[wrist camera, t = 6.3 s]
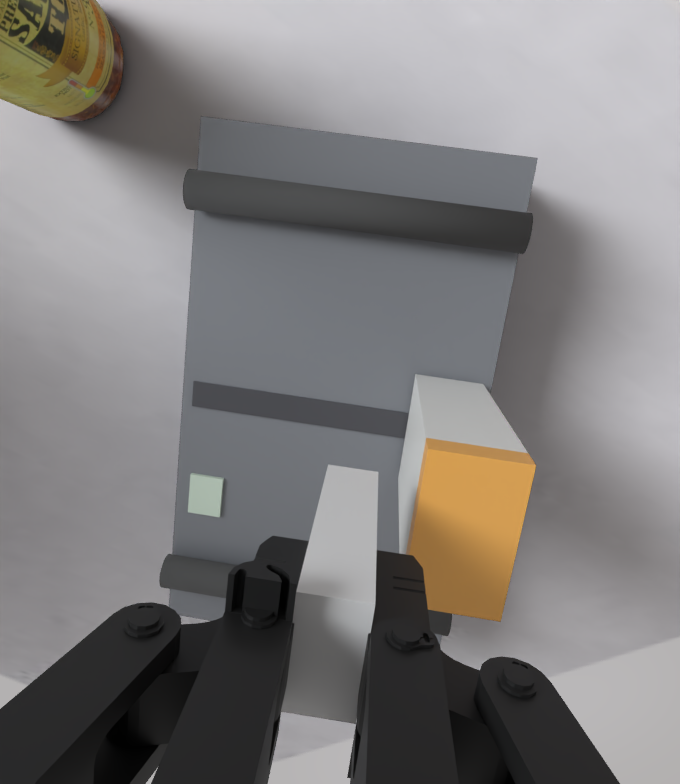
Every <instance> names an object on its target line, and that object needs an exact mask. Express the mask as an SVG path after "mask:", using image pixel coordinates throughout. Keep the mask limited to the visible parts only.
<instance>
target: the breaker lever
mask: <svg viewBox="0 0 680 784" xmlns="http://www.w3.org/2000/svg"><path fill="white" fill-rule="evenodd" d="M535 469H536V464H535V463H534V461H533V460H532V458H531V457H530V455H529V454H528V452H527V450H526V449H525V447H524V446H523V444H522V443H521V441H520V440H519V438H518V437H517V435H516V434H515V432H514V431H513V429H512V427H511V426H510V424H509V423H508V421H507V420H506V418H505V417H504V415H503V414H502V412H501V411H500V409H499V407H498V406H497V404H496V403H495V401H494V400H493V398H492V397H491V395H490V394H489V392H488V391H487V389H486V388H485V386H484V384H480V383H473V382H466V381H459V380H452V379H445V378H439V377H432V376H425V375H418V374H415V380H414V386H413V392H412V398H411V404H410V410H409V416H408V422H407V428H406V434H405V440H404V446H403V452H402V458H401V464H400V470H399V476H398V496H399V553H400V554H406V555H413V556H414V557H415V559H416V560H417V561H418V562H419V564H420V565H421V566H422V568H423V573H424V583H425V589H426V598H427V606H428V610H434V611H440V612H445V613H451V614H457V615H463V616H469V617H475V618H481V619H487V620H493V621H499V622H501V618H502V613H503V609H504V605H505V600H506V596H507V592H508V587H509V583H510V578H511V574H512V570H513V565H514V561H515V556H516V552H517V548H518V543H519V539H520V535H521V530H522V526H523V521H524V517H525V513H526V508H527V504H528V500H529V495H530V491H531V486H532V482H533V478H534V473H535Z"/></svg>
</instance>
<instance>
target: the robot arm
mask: <svg viewBox="0 0 680 784" xmlns="http://www.w3.org/2000/svg"><path fill="white" fill-rule="evenodd" d="M377 512H378V472H375V471H368V470H362V469H355V468H348V467H342V466H335V465H328V467H327V471H326V475H325V479H324V483H323V487H322V491H321V495H320V499H319V503H318V507H317V511H316V515H315V519H314V523H313V527H312V531H311V535H310V539H309V541H305V540H299V539H292V538H286V537H279V536H271V537H270V538H268V539H267V540H266V541H264V542H263V543H262V544H260V546H259V549H258V551H257V554H256V556H255V559H254V561H249V562H243V563H241V564H239V565H237V566H235V567H234V568H233V569H232V570H231V571H230V572H229V573H228V582H227V593H226V604H225V612H224V614H223V617H221V618H219V619H216V620H213V621H210V622H205V623H198V624H183V625H181V618H180V616H179V615H178V614H177V612H176V611H175V610H174V609H172V608H170V607H168V606H166V605H163V604H157V603H138V604H134V605H131V606H127V607H124V608H123V609H121V610H119V611H118V612H116V613H114V614H113V615H112V616H110V617H109V618H108V619H107V620H106V621H105V622H103V623H102V624H101V625H100V626H99V627H97V628H96V629H95V630H94V631H93V632H91V633H90V634H89V635H88V636H87V637H85V638H84V639H83V640H82V641H81V642H80V643H78V644H77V645H76V646H75V647H74V648H72V649H71V650H70V651H69V652H68V653H66V654H65V655H64V656H63V657H62V658H60V659H59V660H58V661H57V662H56V663H55V664H53V665H52V666H51V667H50V668H49V669H47V670H46V671H45V672H44V673H43V674H41V675H40V676H39V677H38V678H37V679H35V680H34V681H33V682H32V683H31V684H30V685H28V686H27V687H26V688H25V689H24V690H22V691H21V692H20V693H19V694H18V695H17V696H15V697H14V698H13V699H12V700H10V701H9V702H8V703H7V704H6V705H5V706H3V707H2V708H1V709H0V784H146V782H147V781H148V779H149V778H150V777H151V775H152V774H153V773H154V771H155V770H156V768H157V767H158V766H159V767H158V769H157V771H156V774H155V776H154V778H153V781H152V783H151V784H267V783H268V778H269V774H270V769H271V765H272V760H273V755H274V750H275V746H276V741H277V736H278V730H279V722H280V715H281V712H287V713H294V714H300V715H306V716H312V717H318V718H324V719H330V720H336V721H342V722H348V723H354V724H356V729H355V735H354V741H353V747H352V753H351V759H350V765H349V772H348V777H347V778H351V781H350V784H620V783H619V782H618V781H617V779H616V777H615V776H614V774H613V773H612V772H611V770H610V768H609V767H608V766H607V764H606V763H605V761H604V760H603V758H602V757H601V755H600V754H599V752H598V751H597V749H596V748H595V746H594V745H593V744H592V742H591V741H590V739H589V738H588V736H587V735H586V733H585V732H584V730H583V729H582V727H581V726H580V724H579V723H578V721H577V720H576V718H575V717H574V716H573V714H572V713H571V711H570V710H569V708H568V707H567V705H566V704H565V702H564V701H563V699H562V698H561V696H560V695H559V694H558V692H557V691H556V689H555V688H554V686H553V685H552V683H551V682H550V681H549V680H548V679H547V677H546V676H545V675H544V674H543V673H542V672H541V671H539V670H538V669H536V668H535V667H533V666H532V665H530V664H528V663H526V662H523V661H520V660H518V659H515V658H508V657H496V658H490V659H489V660H487V661H486V662H484V663H483V664H482V666H481V669H480V671H479V670H477V669H474V668H471V667H469V666H466V665H464V664H462V663H460V662H458V661H455V660H453V659H452V658H450V657H449V656H447V655H446V654H445V653H443V652H442V651H441V650H440V644H439V642H438V639H437V637H436V635H435V634H434V633H433V632H432V631H431V630H430V622H429V614H428V606H427V598H426V589H425V583H424V573H423V568H422V566H421V565H420V564H419V562H418V561H417V560H416V559H415V557H414V556H413V555H406V554H400V553H393V552H387V551H380V550H377ZM356 718H357V723H356Z"/></svg>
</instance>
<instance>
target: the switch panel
mask: <svg viewBox="0 0 680 784" xmlns="http://www.w3.org/2000/svg"><path fill="white" fill-rule="evenodd" d="M537 159H538V158H533V157H525V156H517V155H509V154H501V153H493V152H485V151H477V150H469V149H461V148H453V147H445V146H437V145H429V144H421V143H413V142H405V141H396V140H388V139H380V138H372V137H364V136H356V135H348V134H340V133H332V132H324V131H316V130H308V129H300V128H292V127H284V126H276V125H268V124H260V123H252V122H244V121H236V120H228V119H219V118H211V117H203V116H201V123H200V138H199V153H198V169H197V170H202V171H209V172H217V173H225V174H232V175H240V176H248V177H256V178H263V179H271V180H279V181H286V182H294V183H302V184H310V185H317V186H325V187H333V188H341V189H348V190H356V191H364V192H371V193H379V194H387V195H395V196H402V197H410V198H418V199H425V200H433V201H441V202H449V203H456V204H464V205H472V206H480V207H487V208H495V209H503V210H510V211H518V212H526V213H527V209H528V204H529V199H530V194H531V189H532V184H533V179H534V174H535V169H536V164H537ZM518 254H519V253H513V252H505V251H498V250H490V249H483V248H475V247H468V246H460V245H453V244H445V243H438V242H430V241H423V240H415V239H408V238H400V237H393V236H385V235H378V234H370V233H363V232H355V231H348V230H340V229H333V228H325V227H318V226H310V225H303V224H296V223H288V222H281V221H273V220H266V219H258V218H251V217H243V216H236V215H228V214H221V213H213V212H206V211H198V210H195V214H194V230H193V245H192V260H191V276H190V291H189V306H188V322H187V337H186V352H185V368H184V383H183V398H182V414H181V429H180V444H179V460H178V475H177V490H176V506H175V521H174V536H173V552H172V554H173V555H179V556H185V557H191V558H197V559H203V560H209V561H215V562H221V563H227V564H233V565H239V564H241V563H243V562H249V561H254V559H255V556H256V554H257V551H258V549H259V546H260V544H262V543H263V542H264V541H266V540H267V539H268V538H270V537H271V536H279V537H286V538H292V539H299V540H305V541H309V539H310V535H311V531H312V527H313V523H314V519H315V515H316V511H317V507H318V503H319V499H320V495H321V491H322V487H323V483H324V479H325V475H326V471H327V467H328V465H335V466H342V467H348V468H355V469H362V470H368V471H375V472H378V512H377V550H380V551H387V552H393V553H399V496H398V476H399V470H400V464H401V458H402V452H403V446H404V440H405V434H406V428H407V422H408V416H409V410H410V404H411V398H412V392H413V386H414V380H415V374H418V375H425V376H432V377H439V378H445V379H452V380H459V381H466V382H473V383H480V384H484V386H485V388H486V389H487V391H488V392H489V394H490V393H491V388H492V383H493V378H494V373H495V368H496V363H497V358H498V353H499V348H500V343H501V338H502V333H503V328H504V323H505V318H506V313H507V308H508V303H509V298H510V293H511V288H512V283H513V278H514V274H515V269H516V264H517V259H518ZM225 604H226V598H221V597H216V596H210V595H204V594H198V593H192V592H186V591H180V590H174V589H170V598H169V607H170V608H172V609H174V610H175V611H176V612H177V614H178V615H181V616H187V617H192V618H198V619H204V620H210V621H213V620H216V619H219V618H221V617H223V614H224V612H225ZM435 635H436V637H437V639H438V642H439V644H440V642H441V637H442V635H439V634H435Z"/></svg>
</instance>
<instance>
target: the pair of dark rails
mask: <svg viewBox="0 0 680 784" xmlns="http://www.w3.org/2000/svg"><path fill="white" fill-rule="evenodd" d="M183 199H184V203H185V206H186V208H187V209H191V210H198V211H206V212H213V213H221V214H228V215H236V216H243V217H251V218H258V219H266V220H273V221H281V222H288V223H296V224H303V225H310V226H318V227H325V228H333V229H340V230H348V231H355V232H363V233H370V234H378V235H385V236H393V237H400V238H408V239H415V240H423V241H430V242H438V243H445V244H453V245H460V246H468V247H475V248H483V249H490V250H498V251H505V252H513V253H520V254H523V253H524V252H525V251H526V248H527V246H528V243H529V240H530V236H531V231H532V223H533V216H532V213H526V212H518V211H510V210H503V209H495V208H487V207H480V206H472V205H464V204H456V203H449V202H441V201H433V200H425V199H418V198H410V197H402V196H395V195H387V194H379V193H371V192H364V191H356V190H348V189H341V188H333V187H325V186H317V185H310V184H302V183H294V182H286V181H279V180H271V179H263V178H256V177H248V176H240V175H232V174H225V173H217V172H209V171H202V170H194V169H189V170H188V171H187V172H186V175H185V178H184V183H183ZM235 566H237V565H233V564H227V563H221V562H215V561H209V560H203V559H197V558H191V557H185V556H179V555H173V554H168V555H167V556H166V558H165V560H164V562H163V565H162V568H161V573H160V586H161V587H163V588H169V589H174V590H180V591H186V592H192V593H198V594H204V595H210V596H216V597H221V598H226V593H227V582H228V573H229V572H230V571H231V570H232V569H233V568H234V567H235ZM428 614H429V622H430V630H431V631H432V632H433V633H434V634H439V635H444V636H448V635H449V632H450V627H451V620H452V614H451V613H445V612H440V611H434V610H428Z"/></svg>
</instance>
